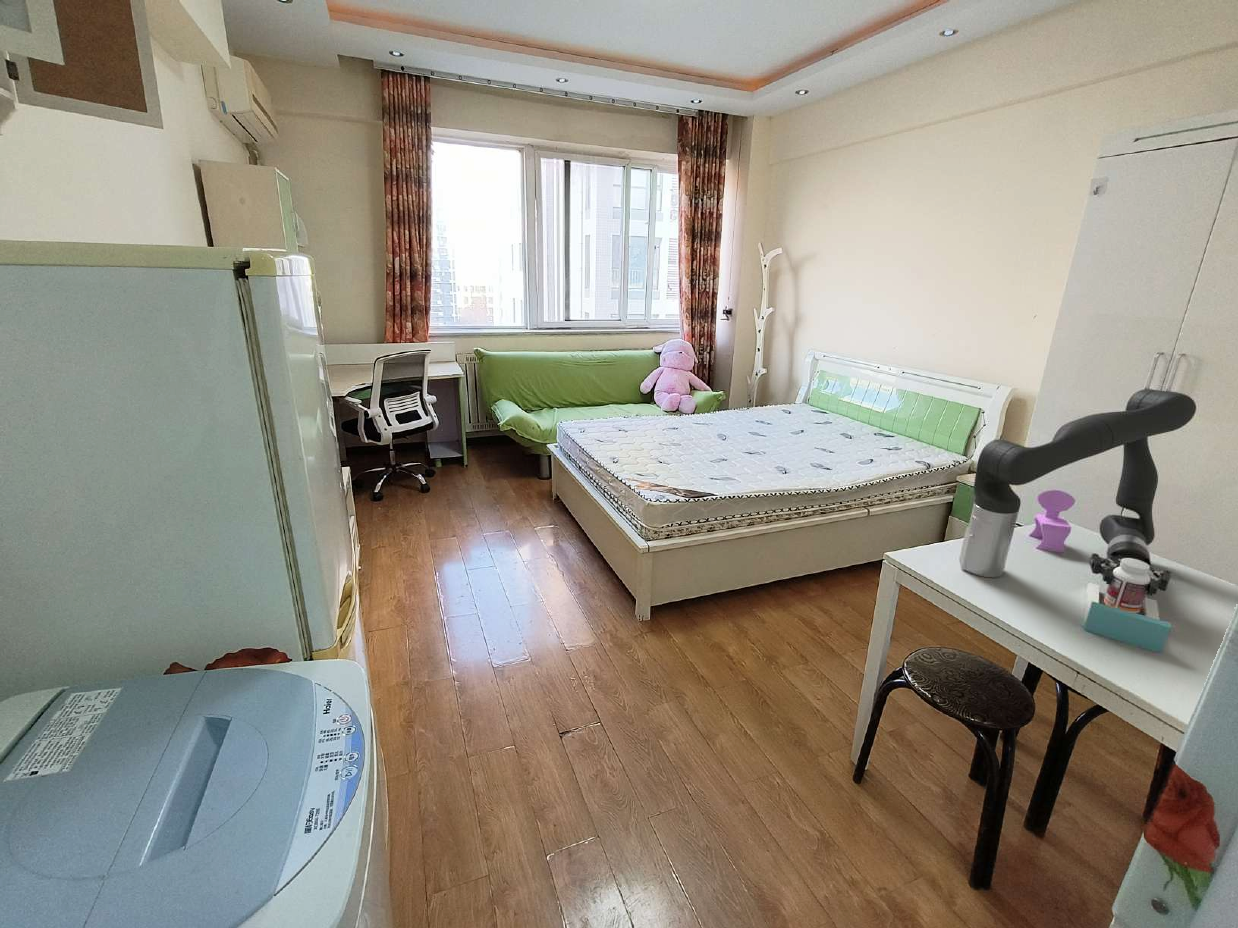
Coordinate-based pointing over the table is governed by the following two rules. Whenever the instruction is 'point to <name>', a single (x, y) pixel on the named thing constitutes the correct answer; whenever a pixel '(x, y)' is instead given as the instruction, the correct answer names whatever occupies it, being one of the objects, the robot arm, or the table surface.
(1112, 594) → the pill bottle
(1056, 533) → the toy chair
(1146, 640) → the guide
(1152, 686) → the table surface
